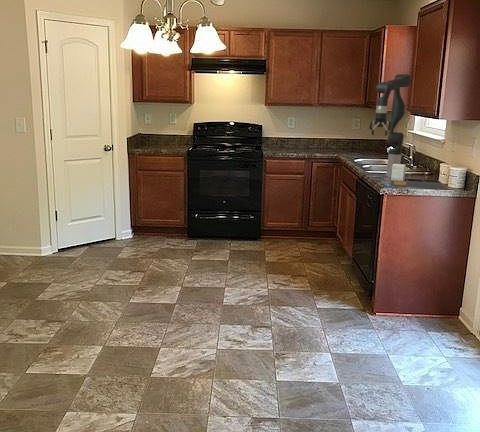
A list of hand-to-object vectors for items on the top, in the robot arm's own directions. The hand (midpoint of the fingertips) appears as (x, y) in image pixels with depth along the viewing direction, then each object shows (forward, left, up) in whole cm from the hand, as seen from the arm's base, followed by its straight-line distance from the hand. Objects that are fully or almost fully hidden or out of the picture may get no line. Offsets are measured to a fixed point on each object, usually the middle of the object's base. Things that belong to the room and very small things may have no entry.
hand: (379, 135), depth 363 cm
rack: (+14, +25, -32) cm, 43 cm away
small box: (+14, +13, -31) cm, 37 cm away
